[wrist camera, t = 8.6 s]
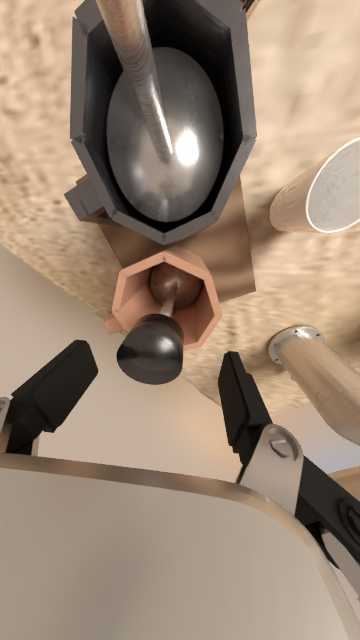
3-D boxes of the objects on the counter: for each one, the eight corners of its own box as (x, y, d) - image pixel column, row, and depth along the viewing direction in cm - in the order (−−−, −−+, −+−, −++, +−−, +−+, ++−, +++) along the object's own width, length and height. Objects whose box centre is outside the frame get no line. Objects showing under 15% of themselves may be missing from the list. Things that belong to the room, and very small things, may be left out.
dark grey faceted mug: (222, 222, 24) (262, 200, 11) (145, 256, 28) (102, 273, 14) (202, 124, 19) (231, -152, 6) (110, 182, 22) (-8, 96, 9)
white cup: (295, 241, 26) (347, 242, 17) (256, 227, 25) (290, 221, 17) (329, 185, 22) (418, 151, 14) (283, 167, 22) (346, 120, 13)
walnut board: (253, 288, 31) (255, 291, 30) (154, 320, 36) (153, 323, 35) (223, 91, 18) (226, 80, 17) (81, 184, 24) (75, 181, 23)
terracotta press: (212, 295, 31) (229, 339, 17) (150, 315, 34) (124, 365, 21) (194, 237, 25) (200, 234, 12) (124, 268, 29) (67, 293, 15)
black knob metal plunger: (205, 298, 27) (229, 391, 10) (163, 312, 29) (128, 408, 12) (190, 249, 23) (189, 276, 7) (142, 269, 25) (51, 329, 9)
